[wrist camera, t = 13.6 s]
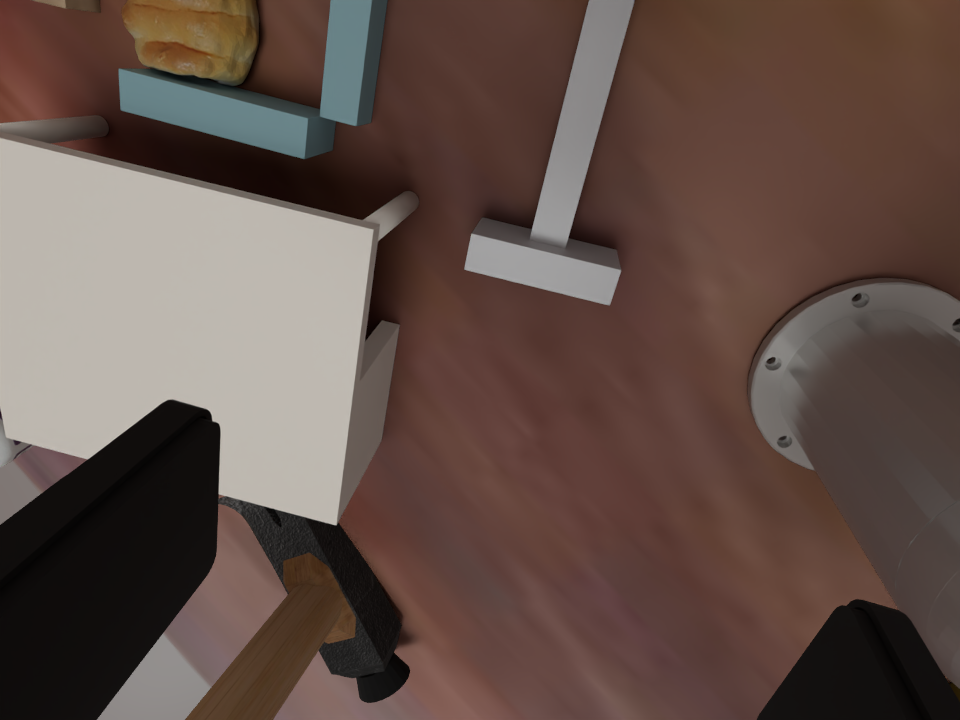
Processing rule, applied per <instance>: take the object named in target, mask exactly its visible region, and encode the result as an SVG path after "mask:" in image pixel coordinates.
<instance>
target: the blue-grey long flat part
mask: <svg viewBox="0 0 960 720" xmlns="http://www.w3.org/2000/svg"><path fill="white" fill-rule="evenodd" d="M386 8H387V0H331V4H330V14H329V25H328V35H327V45H326V56H325V66H324V76H323V86H322V97H321V107H320V109H317V108H313V107H309V106H305V105H302V104H298V103H294V102H290V101H286V100H283V99H279V98H275V97H271V96H267V95H264V94H260V93H256V92H252V91H248V90H245V89H241V88H237V87H233V86H229V85H223V84H220V83H218V82H214V81H210V80H207V79H203V78H199V77H195V76H191V75H178V74H173V73H170V72H167V71H159V70H156V69H119V87H120V108H121V111H125V112H129V113H133V114H136V115H140V116H144V117H148V118H151V119H155V120H159V121H163V122H166V123H170V124H174V125H178V126H182V127H185V128H189V129H193V130H197V131H200V132H204V133H208V134H212V135H215V136H219V137H223V138H227V139H230V140H234V141H238V142H242V143H245V144H249V145H253V146H257V147H260V148H264V149H268V150H272V151H275V152H279V153H283V154H287V155H291V156H294V157H298V158H302V159H307V158H310V157H313V156H316V155H319V154H323V153H326V152H329V151H332V150H333V143H334V134H335V125H336V121H338V122H342V123H346V124H349V125H353V126H360V125H364V124H368V123H371V119H372V112H373V104H374V97H375V89H376V82H377V75H378V67H379V60H380V52H381V45H382V37H383V30H384V23H385V15H386Z"/></svg>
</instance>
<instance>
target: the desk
mask: <svg viewBox="0 0 960 720" xmlns="http://www.w3.org/2000/svg"><path fill="white" fill-rule="evenodd" d="M108 132H109V127H108V124H107V122H106V120H105V119H104V118H103V117H101V116H99V115H92V116H80V117H69V118H57V119H46V120H34V121H22V122H11V123H0V409H1V414H2V419H3V424H4V430H5V435H6V438H10V439H13V440H17V441H21V442H25V443H28V444H32V445H36V446H40V447H43V448H47V449H51V450H55V451H58V452H62V453H66V454H70V455H73V456H77V457H81V458H85V459H89V458H90V457H92V456H93V455H94V454H96V453H97V452H98V451H100V450H101V449H102V448H104V447H105V446H106V445H108V444H109V443H110V442H112V441H113V440H114V439H115V438H117V437H118V436H119V435H121V434H122V433H123V432H125V431H126V430H127V429H129V428H130V427H131V426H133V425H134V424H135V423H137V422H138V421H139V420H140V419H142V418H143V417H144V416H146V415H147V414H148V413H150V412H151V411H152V410H154V409H155V408H156V407H158V406H159V405H160V404H161V403H163V402H165V401H167V400H171V399H173V400H177V401H180V402H184V403H187V404H191V405H194V406H197V407H201V408H204V409H207V410H209V411H210V413H211V415H212V421H214V422H217V423H218V424H219V425H220V429H221V437H220V466H219V494H220V495H224V496H227V497H231V498H235V499H239V500H242V501H246V502H250V503H254V504H257V505H261V506H265V507H269V508H272V509H276V510H280V511H284V512H287V513H291V514H295V515H299V516H302V517H306V518H310V519H314V520H317V521H321V522H325V523H329V524H332V525H337V524H338V522H339V520H340V518H341V516H342V514H343V512H344V510H345V508H346V507H347V505H348V503H349V501H350V499H351V497H352V495H353V493H354V491H355V490H356V488H357V486H358V484H359V482H360V480H361V478H362V476H363V475H364V473H365V471H366V469H367V467H368V465H369V463H370V461H371V459H372V458H373V456H374V454H375V452H376V450H377V448H378V446H379V444H380V442H381V441H382V435H383V429H384V422H385V416H386V409H387V403H388V397H389V390H390V384H391V378H392V371H393V365H394V359H395V352H396V346H397V340H398V333H399V327H400V325H399V324H395V323H391V322H387V321H383V320H382V321H381V322H380V323H379V325H378V326H377V327H376V328H375V330H374V331H373V332H372V334H371V335H370V336H369V337H368V339H367V340H366V341H365V337H366V329H367V321H368V314H369V306H370V298H371V291H372V283H373V275H374V268H375V260H376V252H377V244H378V241H379V240H380V239H381V238H383V237H384V236H385V235H386V234H387V233H389V232H390V231H391V230H392V229H393V228H394V227H396V226H397V225H398V224H399V223H400V222H402V221H403V220H404V219H405V218H406V217H407V216H409V215H410V214H411V213H412V212H413V211H415V210H416V209H417V207H418V205H419V199H418V196H417V195H416V194H415V193H414V192H412V191H405V192H403V193H401V194H400V195H399V196H397V197H396V198H394V199H393V200H391V201H390V202H388V203H387V204H385V205H384V206H382V207H381V208H380V209H378V210H377V211H375V212H374V213H372V214H371V215H369V216H368V217H366V218H365V219H364V220H359V219H355V218H351V217H347V216H343V215H339V214H335V213H331V212H327V211H323V210H318V209H314V208H310V207H306V206H302V205H298V204H294V203H290V202H286V201H282V200H278V199H274V198H270V197H265V196H261V195H257V194H253V193H249V192H245V191H241V190H237V189H233V188H229V187H225V186H221V185H217V184H212V183H208V182H204V181H200V180H196V179H192V178H188V177H184V176H180V175H176V174H172V173H168V172H164V171H159V170H155V169H151V168H147V167H143V166H139V165H135V164H131V163H127V162H123V161H119V160H115V159H111V158H106V157H102V156H98V155H94V154H90V153H86V152H82V151H78V150H74V149H70V148H66V147H62V146H57V145H53V144H51V143H58V142H66V141H74V140H81V139H89V138H96V137H104V136H106V135H107V134H108Z"/></svg>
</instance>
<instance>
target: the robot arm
mask: <svg viewBox="0 0 960 720" xmlns="http://www.w3.org/2000/svg"><path fill="white" fill-rule="evenodd" d="M856 294H858V296H857V297H856V298H854V299H852V298H853V297H854V296H855V295H856ZM772 357H773V358H772ZM769 358H772V360H769V361H767V360H768V359H769ZM747 394H748V400H749V406H750V411H751V413H752V415H753V418H754V420H755V422H756V425H757V427H758V428H759V430H760V432H761V433H762V435H763V437H764V438H765V440H766V441H767V442H768V443H769V444H770V445H771V447H772V448H773V449H774V450H775V451H777V452H778V453H780V454H781V455H782V456H784V457H785V458H787V459H788V460H790V461H791V462H793V463H796V464H798V465H800V466H802V467H805V468H807V469H810V470H814V471H816V473H817V475H818V476H819V478H820V480H821V481H822V483H823V485H824V486H825V488H826V490H827V491H828V493H829V495H830V496H831V498H832V500H833V501H834V503H835V505H836V506H837V508H838V510H839V511H840V513H841V514H842V516H843V518H844V519H845V521H846V523H847V524H848V526H849V528H850V529H851V531H852V533H853V534H854V536H855V538H856V539H857V541H858V543H859V544H860V546H861V548H862V549H863V551H864V553H865V554H866V556H867V558H868V559H869V561H870V563H871V564H872V566H873V568H874V569H875V571H876V573H877V574H878V576H879V578H880V579H881V581H882V583H883V584H884V586H885V588H886V589H887V591H888V592H889V594H890V596H891V597H892V599H893V601H894V602H895V604H896V606H897V607H898V609H899V610H896V609H892V608H889V607H885V606H882V605H878V604H875V603H871V602H868V601H865V600H859V599H856V600H853V601H851V602H850V603H849V604H848V605H847V606H843V605H841V606H839V607H837V608H836V609H835V610H834V611H833V613H832V614H831V615H830V617H829V618H828V620H827V621H826V622H825V624H824V625H823V627H822V628H821V629H820V631H819V632H818V633H817V635H816V636H815V638H814V639H813V640H812V642H811V643H810V645H809V646H808V647H807V649H806V650H805V652H804V653H803V654H802V656H801V657H800V659H799V660H798V661H797V663H796V664H795V666H794V667H793V668H792V670H791V671H790V672H789V674H788V675H787V677H786V678H785V679H784V681H783V682H782V684H781V685H780V686H779V688H778V689H777V691H776V692H775V693H774V695H773V696H772V698H771V699H770V700H769V702H768V703H767V704H766V706H765V707H764V709H763V710H762V711H761V713H760V714H759V716H758V718H757V720H960V701H959V700H958V698H957V696H956V695H955V693H954V691H953V690H952V688H951V686H950V685H949V683H948V681H947V680H946V678H945V676H946V677H947V678H948V679H949V680H950V681H951V682H953V683H954V684H955V685H956V686H957V687H958V688H960V301H959V300H957V299H956V298H954V297H952V296H951V295H949V294H948V293H946V292H944V291H941V290H939V289H937V288H935V287H933V286H931V285H929V284H925V283H921V282H917V281H913V280H908V279H898V278H875V279H866V280H858V281H854V282H851V283H847V284H843V285H840V286H836V287H833V288H831V289H829V290H827V291H824V292H822V293H820V294H818V295H815V296H813V297H811V298H810V299H808V300H807V301H805V302H804V303H802V304H801V305H799V306H797V307H796V308H794V309H793V310H792V311H791V312H789V313H788V314H787V315H786V316H785V317H784V318H783V319H782V320H781V321H779V322H778V323H777V324H776V325H775V327H774V328H773V329H772V330H771V332H770V333H769V334H768V335H767V337H766V338H765V339H764V340H763V342H762V344H761V346H760V348H759V349H758V351H757V353H756V355H755V357H754V359H753V363H752V366H751V369H750V373H749V377H748V392H747ZM220 437H221V429H220V425H219V424H218V423H217V422H214V421H212V415H211V413H210V411H209V410H207V409H204V408H201V407H197V406H194V405H191V404H187V403H184V402H180V401H177V400H173V399H171V400H167V401H165V402H163V403H161V404H160V405H159V406H158V407H156V408H155V409H154V410H152V411H151V412H150V413H148V414H147V415H146V416H144V417H143V418H142V419H140V420H139V421H138V422H137V423H135V424H134V425H133V426H131V427H130V428H129V429H127V430H126V431H125V432H123V433H122V434H121V435H119V436H118V437H117V438H115V439H114V440H113V441H112V442H110V443H109V444H108V445H106V446H105V447H104V448H102V449H101V450H100V451H98V452H97V453H96V454H94V455H93V456H92V457H90V458H89V459H88V460H87V461H85V462H84V463H83V464H81V465H80V466H79V467H77V468H76V469H75V470H73V471H72V472H71V473H69V474H68V475H66V476H65V477H63V478H62V479H60V480H59V481H58V482H56V483H55V484H54V485H52V486H51V487H50V488H48V489H47V490H46V491H44V492H43V493H42V494H40V495H39V496H38V497H37V498H35V499H34V500H33V501H32V502H30V503H29V504H27V505H26V506H25V507H23V508H22V509H21V510H19V511H18V512H17V513H15V514H14V515H13V516H12V517H10V518H9V519H7V520H6V521H5V522H4V523H2V524H1V525H0V720H97V719H98V717H99V716H100V715H101V713H102V712H103V711H104V709H105V708H106V707H107V705H108V704H109V703H110V701H111V700H112V699H113V698H114V696H115V695H116V694H117V692H118V691H119V690H120V688H121V687H122V686H123V685H124V683H125V682H126V681H127V679H128V678H129V677H130V675H131V674H132V673H133V671H134V670H135V669H136V668H137V666H138V665H139V664H140V662H141V661H142V660H143V658H144V657H145V656H146V654H147V653H148V652H149V651H150V649H151V648H152V647H153V645H154V644H155V643H156V642H157V640H158V639H159V637H160V636H161V635H162V634H163V632H164V631H165V630H166V628H167V627H168V626H169V625H170V623H171V622H172V621H173V619H174V618H175V617H176V615H177V614H178V613H179V612H180V610H181V609H182V608H183V606H184V605H185V604H186V602H187V601H188V600H189V598H190V597H191V596H192V595H193V593H194V592H195V591H196V589H197V588H198V587H199V585H200V584H201V583H202V581H203V580H204V579H205V578H206V576H207V575H208V573H209V571H210V570H211V568H212V565H213V563H214V560H215V557H216V551H217V525H218V496H219V466H220ZM943 674H944V675H945V676H944V675H943Z"/></svg>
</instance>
